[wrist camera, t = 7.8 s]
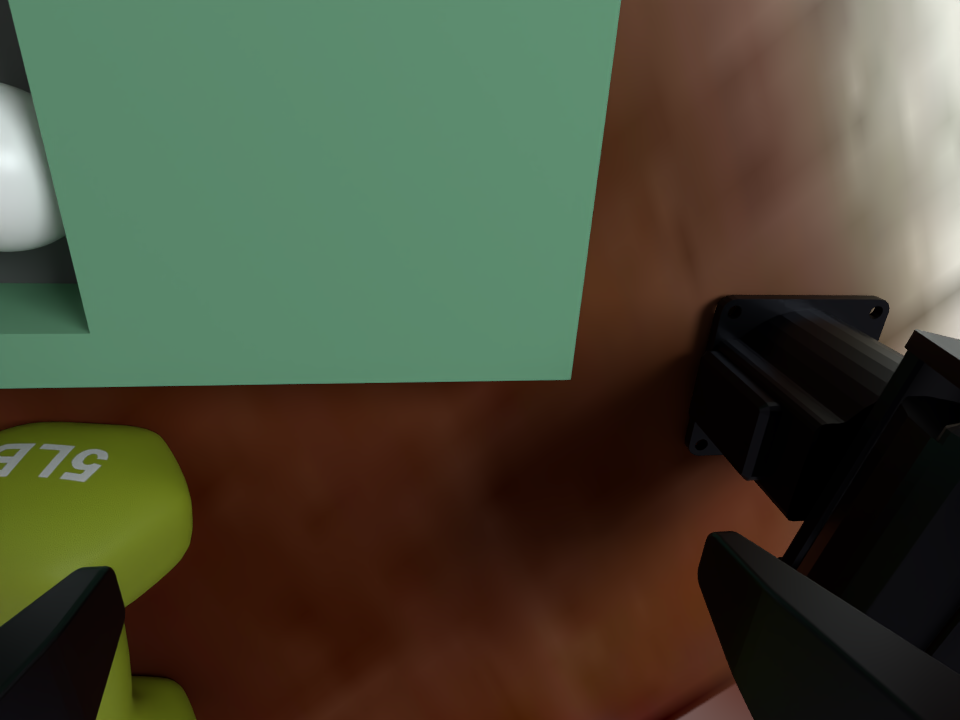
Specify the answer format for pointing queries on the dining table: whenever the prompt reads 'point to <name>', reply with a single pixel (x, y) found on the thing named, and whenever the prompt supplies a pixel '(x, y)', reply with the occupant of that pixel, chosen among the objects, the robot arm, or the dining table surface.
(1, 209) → the white ball
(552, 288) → the putting mat
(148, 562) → the dumbbell
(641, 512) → the dining table surface
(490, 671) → the dining table surface
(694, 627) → the dining table surface
